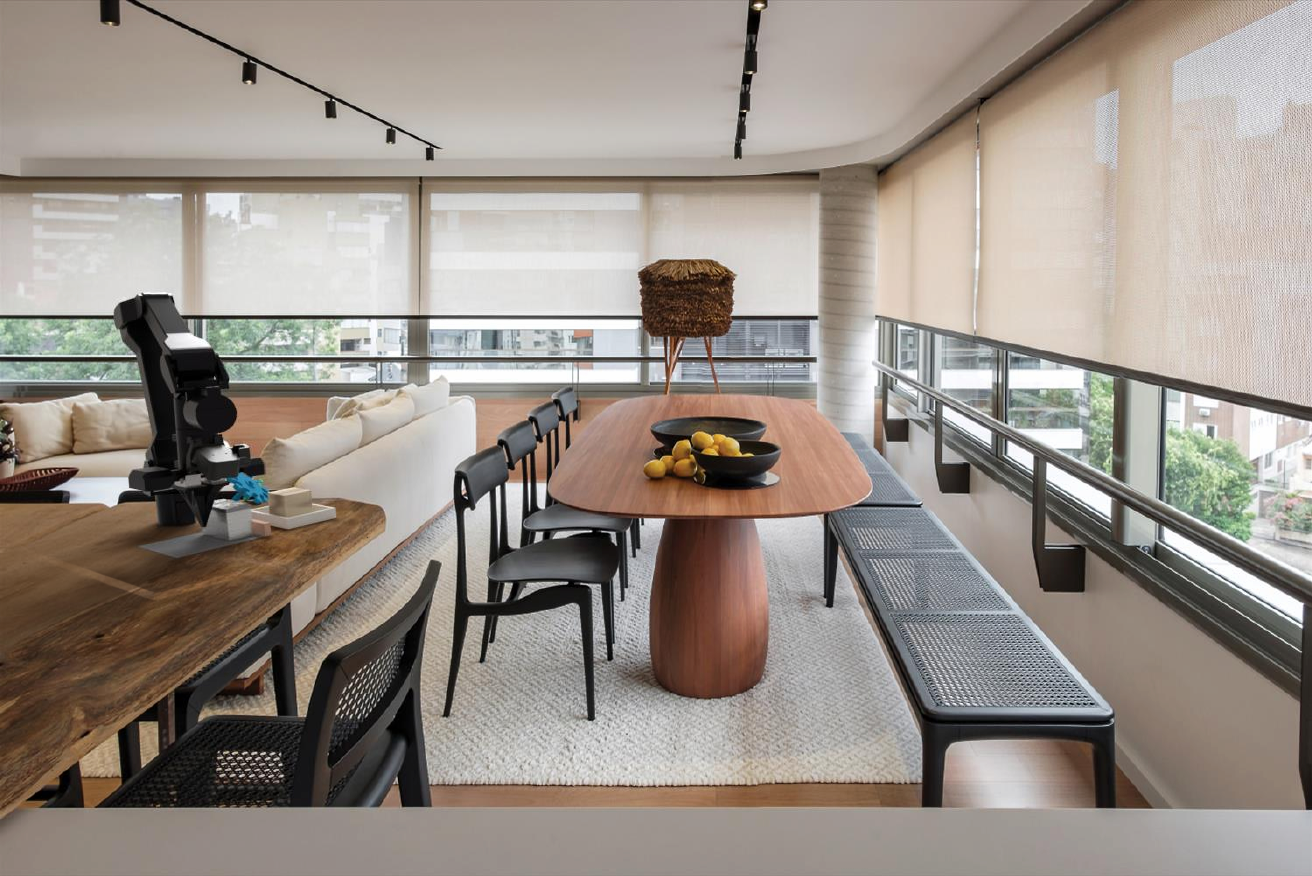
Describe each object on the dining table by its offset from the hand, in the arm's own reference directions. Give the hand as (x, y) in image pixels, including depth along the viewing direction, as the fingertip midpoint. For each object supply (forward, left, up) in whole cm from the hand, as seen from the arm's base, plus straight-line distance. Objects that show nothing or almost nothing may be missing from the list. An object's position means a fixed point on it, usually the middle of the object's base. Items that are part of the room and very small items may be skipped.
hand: (203, 526), depth 139 cm
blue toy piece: (-22, +20, -3) cm, 30 cm away
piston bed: (0, 0, -3) cm, 3 cm away
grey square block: (0, +4, -3) cm, 5 cm away
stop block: (-1, +16, -2) cm, 16 cm away
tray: (-1, +16, -3) cm, 16 cm away
